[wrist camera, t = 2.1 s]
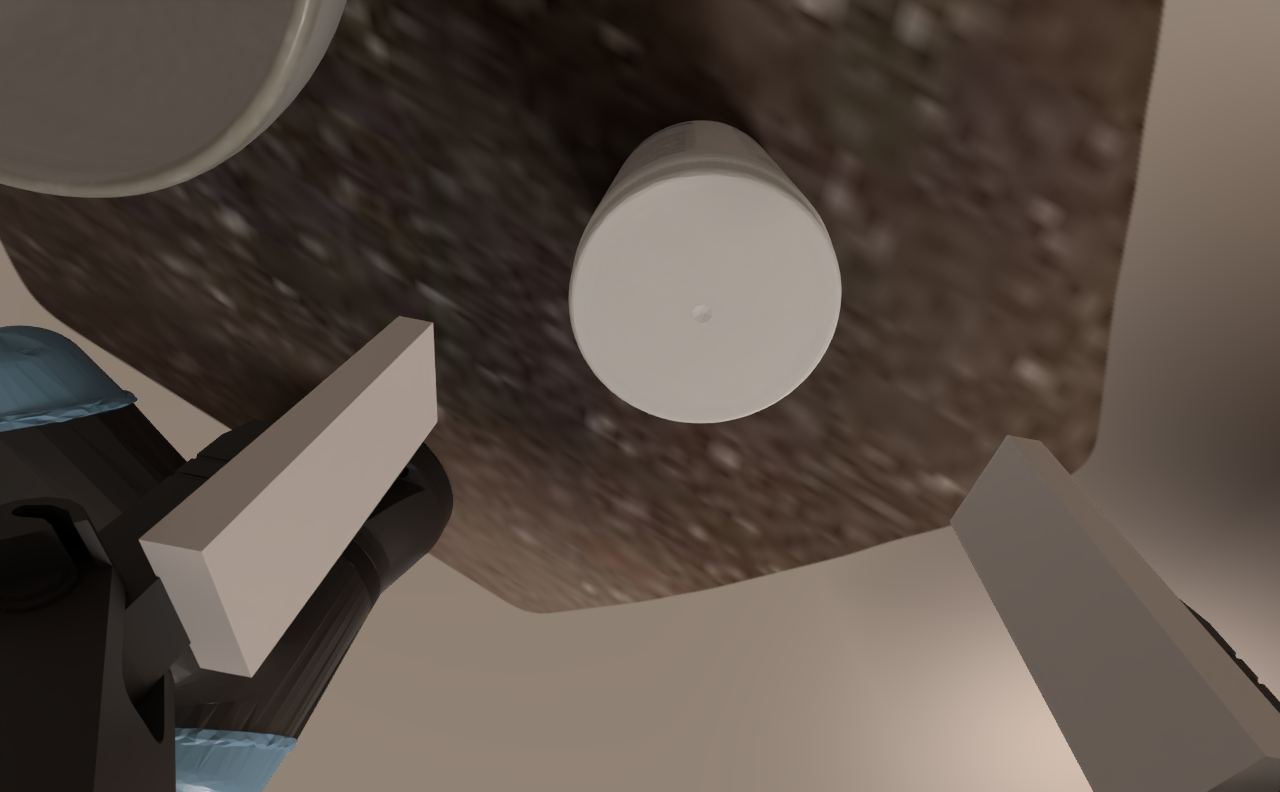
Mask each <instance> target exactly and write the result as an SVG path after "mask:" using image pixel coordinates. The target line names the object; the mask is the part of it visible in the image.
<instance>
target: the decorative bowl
mask: <svg viewBox="0 0 1280 792" xmlns="http://www.w3.org/2000/svg"><path fill="white" fill-rule="evenodd" d="M346 2H347V0H0V184H4V185H7V186H11V187H16V188H20V189H25V190H29V191H34V192H38V193H45V194H52V195H59V196H69V197H85V198H108V197H123V196H131V195H139V194H144V193H148V192H153V191H157V190H161V189H165V188H168V187H171V186H174V185H176V184H179V183H182V182H185V181H188V180H190V179H192V178H194V177H196V176H198V175H200V174H202V173H204V172H206V171H208V170H210V169H212V168H214V167H216V166H217V165H219V164H221V163H222V162H224V161H225V160H227V159H228V158H230V157H231V156H233V155H234V154H236V153H238V152H239V151H241V150H242V149H243V148H244V147H245V146H247V145H248V144H249V143H250V142H252V141H253V140H254V139H255V138H256V137H258V136H259V135H260V134H261V133H262V132H264V131H265V130H266V129H267V128H268V127H269V126H270V125H271V124H272V123H273V122H274V121H275V120H276V119H277V118H278V116H279V115H280V114H281V113H282V112H283V111H284V110H285V109H286V108H287V107H288V106H289V105H290V104H291V103H292V101H293V100H294V99H295V98H296V96H297V95H298V94H299V92H300V91H301V90H302V88H303V87H304V86H305V84H306V83H307V82H308V80H309V79H310V77H311V76H312V74H313V73H314V71H315V69H316V68H317V66H318V64H319V63H320V61H321V59H322V58H323V56H324V54H325V52H326V50H327V48H328V46H329V44H330V42H331V40H332V38H333V36H334V34H335V32H336V29H337V27H338V24H339V21H340V19H341V16H342V13H343V11H344V8H345V5H346Z"/></svg>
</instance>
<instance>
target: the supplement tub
mask: <svg viewBox="0 0 1280 792" xmlns="http://www.w3.org/2000/svg"><path fill="white" fill-rule="evenodd" d="M840 304H841V278H840V271H839V266H838V262H837V258H836V255H835V252H834V249H833V246H832V243H831V240H830V237H829V234H828V232H827V230H826V228H825V225H824V223H823V221H822V220H821V218H820V216H819V214H818V213H817V211H816V210H815V209H814V207H813V206H812V205H811V203H810V202H809V201H808V200H807V199H806V197H805V196H804V195H803V194H802V193H801V191H800V190H799V189H798V188H797V187H796V186H795V185H794V183H793V182H792V181H791V180H790V179H789V178H788V177H787V175H786V174H785V173H784V172H783V171H782V170H781V169H780V167H779V166H778V165H777V164H776V163H775V162H774V161H773V160H772V158H771V157H770V156H769V155H768V154H767V153H766V151H765V150H764V149H763V148H762V147H761V146H760V145H759V144H758V143H757V142H756V141H754V140H753V139H752V138H751V137H749V136H748V135H747V134H745V133H744V132H742V131H740V130H738V129H736V128H734V127H732V126H729V125H726V124H723V123H720V122H714V121H703V120H702V121H689V122H683V123H679V124H675V125H672V126H670V127H667V128H665V129H662V130H660V131H659V132H657V133H655V134H653V135H651V136H650V137H649V138H647V139H646V140H644V141H643V142H642V143H641V144H640V145H639V146H638V147H637V148H636V149H635V150H634V151H633V152H632V153H631V155H630V156H629V157H628V158H627V160H626V161H625V163H624V164H623V166H622V167H621V169H620V171H619V172H618V174H617V176H616V177H615V179H614V180H613V182H612V184H611V185H610V187H609V189H608V190H607V192H606V194H605V195H604V197H603V199H602V200H601V202H600V203H599V205H598V207H597V208H596V210H595V212H594V213H593V215H592V217H591V219H590V221H589V223H588V225H587V227H586V228H585V231H584V233H583V235H582V238H581V240H580V243H579V245H578V248H577V252H576V255H575V259H574V264H573V270H572V274H571V279H570V286H569V312H570V319H571V326H572V329H573V333H574V336H575V339H576V341H577V344H578V346H579V349H580V351H581V353H582V355H583V357H584V359H585V360H586V362H587V363H588V365H589V366H590V368H591V369H592V371H593V372H594V374H595V375H596V376H597V377H598V378H599V379H600V381H601V382H602V383H603V384H604V385H605V386H606V387H607V388H608V389H610V390H611V391H612V392H613V393H614V394H616V395H617V396H618V397H620V398H621V399H622V400H624V401H626V402H627V403H629V404H630V405H632V406H634V407H636V408H638V409H640V410H642V411H644V412H647V413H649V414H652V415H655V416H658V417H661V418H665V419H668V420H673V421H679V422H688V423H715V422H722V421H728V420H733V419H737V418H741V417H744V416H747V415H750V414H753V413H755V412H758V411H760V410H762V409H765V408H766V407H768V406H770V405H772V404H774V403H776V402H777V401H779V400H780V399H782V398H784V397H785V396H786V395H788V394H789V393H790V392H792V391H793V390H794V389H795V388H796V387H798V386H799V385H800V384H801V383H802V382H803V381H804V380H805V379H806V378H807V377H808V376H809V374H810V373H811V372H812V371H813V369H814V368H815V367H816V365H817V364H818V363H819V361H820V360H821V358H822V357H823V355H824V353H825V352H826V350H827V348H828V346H829V344H830V342H831V339H832V337H833V335H834V332H835V329H836V325H837V322H838V317H839V312H840Z"/></svg>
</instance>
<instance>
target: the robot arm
mask: <svg viewBox="0 0 1280 792" xmlns="http://www.w3.org/2000/svg"><path fill="white" fill-rule="evenodd" d="M136 401H137V398H136V397H135V396H134V395H133V393H131V392H129V391H126V390H122V389H121V388H120V387H119V386H118V385H117V384H116V383H115V382H114V381H113V380H112V379H111V378H110V377H109V376H108V375H107V374H106V373H105V372H104V371H103V370H102V369H100V367H99V366H98V365H97V364H96V363H94V361H93V360H92V359H90V357H89V356H88V355H87V354H85V353H84V351H82V350H81V349H80V348H79V347H78V346H77V345H76V344H75V343H74V342H72V341H71V340H70V339H68V338H66V337H64V336H63V335H61V334H59V333H56V332H53V331H51V330H47V329H44V328H39V327H32V326H7V327H1V328H0V792H262V790H263V789H264V788H265V786H266V784H267V783H268V781H269V780H270V778H271V777H272V775H273V774H274V772H275V771H276V769H277V768H278V766H279V765H280V763H281V762H282V760H283V759H284V757H285V755H286V754H287V753H288V752H290V751H292V750H293V748H294V747H295V745H296V742H297V739H298V737H299V735H300V734H301V732H302V730H303V728H304V727H305V725H306V723H307V721H308V720H309V717H310V716H311V714H312V713H313V711H314V709H315V707H316V706H317V704H318V702H319V700H320V699H321V697H322V695H323V693H324V692H325V690H326V688H327V686H328V684H329V683H330V681H331V679H332V677H333V676H334V674H335V672H336V671H337V669H338V667H339V665H340V664H341V662H342V660H343V658H344V657H345V655H346V653H347V651H348V650H349V648H350V646H351V644H352V643H353V641H354V639H355V637H356V635H357V634H358V632H359V630H360V629H361V627H362V625H363V623H364V622H365V619H366V618H367V616H368V614H369V613H370V611H371V609H372V608H373V606H374V604H375V602H376V601H377V599H378V598H379V596H380V594H381V593H382V592H383V591H384V590H385V589H387V588H388V587H389V586H390V585H391V584H392V583H393V582H395V581H396V580H397V579H398V578H399V577H400V576H401V575H403V574H404V573H405V572H406V571H407V570H408V569H410V568H411V567H412V566H413V565H414V564H415V563H416V562H417V561H418V560H419V559H420V558H422V557H423V556H424V555H425V554H427V553H428V552H429V551H430V550H431V549H432V547H433V546H434V545H435V544H436V542H437V541H438V539H439V538H440V536H441V534H442V532H443V530H444V528H445V527H446V525H447V523H448V521H449V519H450V516H451V513H452V508H453V495H452V490H451V486H450V483H449V480H448V478H447V475H446V473H445V471H444V470H443V468H442V466H441V465H440V463H439V462H438V460H437V459H436V458H435V457H434V455H433V454H432V453H431V452H430V451H429V450H428V449H427V448H426V447H425V446H424V445H423V444H422V442H423V441H424V440H425V438H426V437H427V435H428V434H429V433H430V431H431V430H432V428H433V427H434V426H435V424H436V423H437V401H436V378H435V356H434V333H433V323H432V322H427V321H422V320H417V319H412V318H407V317H401V316H399V317H398V318H396V319H395V320H394V321H393V322H392V323H391V324H389V325H388V326H387V327H386V328H385V329H384V330H382V331H381V332H380V333H379V334H378V335H377V336H375V337H374V338H373V339H372V340H371V341H370V342H368V343H367V344H366V345H365V346H364V347H363V348H361V349H360V350H359V351H358V352H357V353H356V354H354V355H353V356H352V357H351V358H350V359H349V360H347V361H346V362H345V363H344V364H343V365H342V366H340V367H339V368H338V369H337V370H336V371H335V372H333V373H332V374H331V375H330V376H329V377H328V378H326V379H325V380H324V381H323V382H322V383H321V384H319V385H318V386H317V387H316V388H315V389H314V390H312V391H311V392H310V393H309V394H308V395H307V396H305V397H304V398H303V399H302V400H301V401H300V402H298V403H297V404H296V405H295V406H294V407H293V408H291V409H290V410H289V411H288V412H287V413H286V414H284V415H283V416H282V417H281V418H280V419H279V420H277V421H276V422H275V423H271V422H265V421H260V420H253V421H251V422H249V423H247V424H244V425H242V426H240V427H238V428H235V429H233V430H231V431H229V432H226V433H224V434H222V435H221V436H220V437H218V438H217V439H216V440H215V441H213V442H212V443H211V444H209V445H208V446H207V447H206V448H204V449H203V450H202V451H201V452H199V453H198V454H197V458H196V459H190V460H189V461H188V462H187V461H186V460H185V459H184V458H183V457H182V456H181V455H180V454H179V453H178V452H177V451H176V450H175V448H174V447H173V446H172V445H171V444H170V443H169V442H168V441H167V440H166V439H165V438H164V436H163V435H162V434H161V433H160V432H159V431H158V430H157V429H156V428H155V427H154V426H153V425H152V423H151V422H150V421H149V420H148V419H147V418H146V417H145V416H144V415H143V414H142V412H141V411H140V410H139V409H138V408H137V407H136V406H135V404H134V403H133V402H136ZM950 523H951V525H952V526H953V528H954V530H955V532H956V534H957V536H958V538H959V540H960V541H961V543H962V545H963V547H964V549H965V551H966V553H967V555H968V557H969V558H970V560H971V562H972V564H973V566H974V568H975V570H976V572H977V573H978V575H979V577H980V579H981V581H982V583H983V585H984V587H985V589H986V590H987V592H988V594H989V596H990V598H991V600H992V602H993V604H994V605H995V607H996V609H997V611H998V613H999V615H1000V617H1001V619H1002V621H1003V622H1004V624H1005V626H1006V628H1007V630H1008V632H1009V633H1010V636H1011V637H1012V639H1013V641H1014V643H1015V645H1016V647H1017V649H1018V650H1019V653H1020V654H1021V656H1022V658H1023V660H1024V662H1025V664H1026V666H1027V668H1028V669H1029V671H1030V673H1031V675H1032V677H1033V679H1034V681H1035V683H1036V684H1037V686H1038V688H1039V690H1040V692H1041V694H1042V696H1043V698H1044V700H1045V701H1046V703H1047V705H1048V707H1049V709H1050V711H1051V712H1052V715H1053V716H1054V718H1055V720H1056V722H1057V724H1058V726H1059V728H1060V730H1061V731H1062V733H1063V735H1064V737H1065V739H1066V741H1067V743H1068V745H1069V747H1070V748H1071V750H1072V752H1073V754H1074V756H1075V758H1076V760H1077V762H1078V763H1079V765H1080V767H1081V769H1082V771H1083V773H1084V775H1085V777H1086V779H1087V780H1088V782H1089V784H1090V786H1091V788H1092V790H1093V792H1280V702H1279V701H1278V699H1277V698H1276V697H1275V696H1274V695H1273V694H1272V693H1271V692H1270V691H1269V689H1268V688H1267V687H1266V686H1265V685H1263V684H1259V683H1258V677H1257V676H1256V675H1255V674H1254V673H1253V672H1252V671H1251V669H1250V668H1249V667H1248V666H1247V665H1246V664H1245V663H1244V661H1243V660H1242V659H1238V658H1236V656H1235V654H1236V652H1235V651H1234V650H1233V649H1232V648H1231V647H1230V646H1229V645H1228V644H1227V643H1226V641H1225V640H1224V639H1223V638H1222V637H1221V636H1220V635H1219V633H1218V632H1217V631H1216V630H1215V629H1214V628H1213V627H1212V626H1211V625H1210V623H1208V622H1207V621H1206V620H1205V619H1203V618H1202V617H1201V616H1200V615H1198V614H1197V613H1196V612H1195V611H1194V610H1192V609H1191V608H1190V607H1189V606H1187V605H1186V604H1185V603H1184V602H1182V601H1181V600H1180V599H1179V598H1178V597H1177V596H1176V595H1175V594H1174V593H1173V591H1172V590H1171V589H1170V588H1169V587H1168V586H1167V585H1166V584H1165V582H1164V581H1163V580H1162V579H1161V578H1160V577H1159V576H1158V574H1157V573H1156V572H1155V571H1154V570H1153V569H1152V568H1151V566H1150V565H1149V564H1148V563H1147V562H1146V561H1145V560H1144V558H1143V557H1142V556H1141V555H1140V554H1139V553H1138V552H1137V551H1136V550H1135V548H1134V547H1133V546H1132V545H1131V544H1130V542H1129V541H1128V540H1127V539H1126V538H1125V537H1124V536H1123V535H1122V534H1121V532H1120V531H1119V530H1118V529H1117V528H1116V527H1115V526H1114V524H1113V523H1112V522H1111V521H1110V520H1109V519H1108V517H1106V515H1105V514H1104V513H1103V512H1102V511H1101V509H1100V508H1099V507H1098V506H1097V505H1096V504H1095V503H1094V502H1093V500H1092V499H1091V498H1090V497H1089V496H1088V495H1087V494H1086V493H1085V491H1084V490H1083V489H1082V488H1081V487H1080V486H1079V484H1078V483H1077V482H1076V481H1075V480H1074V479H1073V478H1072V476H1071V475H1070V474H1069V473H1068V472H1067V471H1066V470H1065V468H1064V467H1063V466H1062V465H1061V464H1060V463H1059V462H1058V461H1057V459H1056V458H1055V457H1054V456H1053V455H1052V454H1051V453H1050V451H1049V450H1048V449H1047V448H1046V447H1045V446H1044V445H1043V443H1042V442H1041V441H1036V440H1031V439H1026V438H1021V437H1016V436H1010V435H1007V436H1006V438H1005V439H1004V441H1003V442H1002V444H1001V445H1000V447H999V448H998V450H997V451H996V453H995V454H994V456H993V457H992V459H991V460H990V462H989V463H988V465H987V466H986V468H985V469H984V471H983V472H982V474H981V475H980V477H979V478H978V480H977V481H976V483H975V484H974V486H973V487H972V489H971V490H970V492H969V493H968V495H967V496H966V498H965V499H964V501H963V502H962V504H961V505H960V507H959V508H958V510H957V511H956V512H955V514H954V515H953V517H952V518H951V520H950Z"/></svg>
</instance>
